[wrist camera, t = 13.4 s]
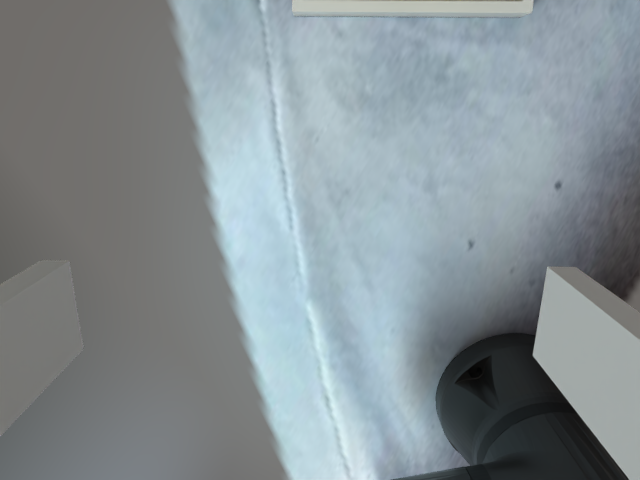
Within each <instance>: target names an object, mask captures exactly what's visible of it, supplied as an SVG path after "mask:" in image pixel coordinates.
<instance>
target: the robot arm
mask: <svg viewBox="0 0 640 480" xmlns="http://www.w3.org/2000/svg"><path fill="white" fill-rule="evenodd" d="M83 349H84V347H83V342H82V336H81V329H80V323H79V318H78V311H77V306H76V299H75V293H74V287H73V281H72V276H71V270H70V264H69V261H65V260H41V261H39V262H38V263H36V264H34V265H33V266H31V267H29V268H28V269H26V270H24V271H22V272H21V273H19V274H17V275H16V276H14V277H12V278H10V279H9V280H7V281H5V282H4V283H2V284H0V436H1V435H2V434H3V433H4V432H5V431H6V430H7V429H8V428H9V427H10V426H11V425H12V424H13V423H14V422H15V421H16V419H17V418H18V417H19V416H20V415H21V414H22V413H23V412H24V411H25V410H26V409H27V408H28V407H29V406H30V405H31V404H32V403H33V401H34V400H35V399H36V398H37V397H38V396H39V395H40V394H41V393H42V392H43V391H44V390H45V389H46V388H47V387H48V386H49V385H50V384H51V383H52V382H53V380H54V379H55V378H56V377H57V376H58V375H59V374H60V373H61V372H62V371H63V370H64V369H65V368H66V367H67V366H68V365H69V364H70V363H71V361H72V360H73V359H74V358H75V357H76V356H77V355H78V354H79V353H80V352H81V351H82V350H83ZM436 409H437V414H438V417H439V420H440V423H441V426H442V428H443V431H444V433H445V435H446V437H447V439H448V440H449V442H450V443H451V445H452V446H453V447H454V448H455V449H456V450H457V451H458V452H459V453H460V454H461V455H462V456H463V458H464V459H465V460H466V461H467V462H468V463H469V465H470V466H467V467H460V468H454V469H448V470H443V471H437V472H431V473H426V474H420V475H415V476H409V477H403V478H398V479H392V480H640V312H639V311H637V310H636V309H635V308H633V307H632V306H630V305H629V304H627V303H626V302H625V301H623V300H622V299H620V298H619V297H618V296H616V295H615V294H613V293H612V292H610V291H609V290H608V289H606V288H605V287H603V286H602V285H601V284H599V283H598V282H596V281H595V280H593V279H592V278H591V277H589V276H588V275H586V274H585V273H584V272H582V271H581V270H579V269H578V268H576V267H547V272H546V278H545V284H544V290H543V296H542V302H541V308H540V314H539V320H538V326H537V332H536V336H533V335H527V334H505V335H499V336H494V337H491V338H487V339H485V340H482V341H480V342H478V343H476V344H474V345H472V346H470V347H469V348H467V349H466V350H464V351H463V352H462V353H460V354H459V355H458V356H457V357H456V358H455V359H454V360H453V361H452V362H451V363H450V364H449V366H448V367H447V368H446V370H445V372H444V373H443V375H442V377H441V379H440V382H439V385H438V388H437V393H436Z"/></svg>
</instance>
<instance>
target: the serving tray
mask: <svg viewBox="0 0 640 480" xmlns="http://www.w3.org/2000/svg"><path fill="white" fill-rule="evenodd" d="M533 1H534V0H292V12H293V14H294V16H302V17H468V18H520V17H523V16H525V15H528V14H530V13H532V9H533Z"/></svg>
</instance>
